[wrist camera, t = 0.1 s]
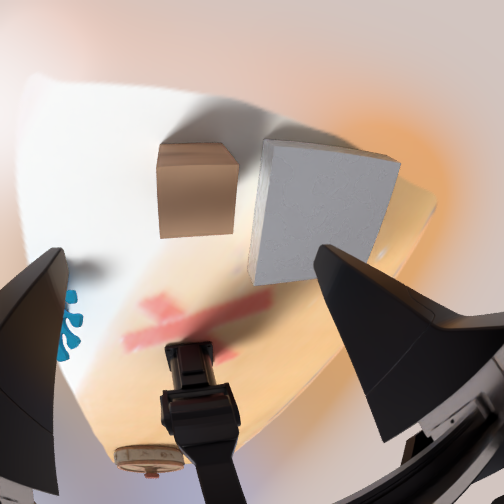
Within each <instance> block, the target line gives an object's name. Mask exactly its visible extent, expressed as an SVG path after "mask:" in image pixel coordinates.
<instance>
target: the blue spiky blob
mask: <svg viewBox="0 0 504 504" xmlns="http://www.w3.org/2000/svg"><path fill="white" fill-rule="evenodd" d="M77 300H78V299H77V294H76V291H75V290H68V291H66V299H65V301H66V302H67V303H69V304H74V303H77ZM66 318H68V319H69V320H70V322H71V324H72V326H74V327H81V325H82V323H83V315H82V314H79V313H77V314H72V313H69V312H68V311H67V310H65V309H64V316H63V322H62V328H61V334H60V340H59V347H58V354H57V361H59V362H62V361H66V360H68V359H69V354H68V352H67V351H66V349H65V347H64V345H63V340H62V334H65V336H66V338H67V345H68V347H69V348H70V349H74V348H76V347H77V346H78V345H79V344H80V342H81V340H80V338H79V337H78V336H76V335H74V334H73V333H72V332H71V331H70V330H69V328H68V327H67V324H66Z"/></svg>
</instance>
